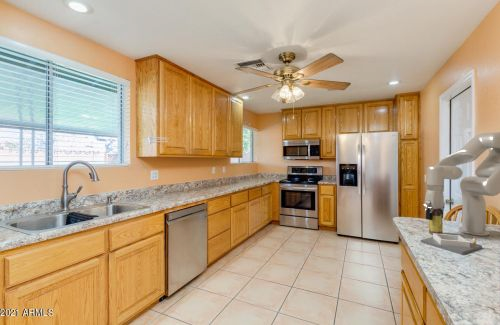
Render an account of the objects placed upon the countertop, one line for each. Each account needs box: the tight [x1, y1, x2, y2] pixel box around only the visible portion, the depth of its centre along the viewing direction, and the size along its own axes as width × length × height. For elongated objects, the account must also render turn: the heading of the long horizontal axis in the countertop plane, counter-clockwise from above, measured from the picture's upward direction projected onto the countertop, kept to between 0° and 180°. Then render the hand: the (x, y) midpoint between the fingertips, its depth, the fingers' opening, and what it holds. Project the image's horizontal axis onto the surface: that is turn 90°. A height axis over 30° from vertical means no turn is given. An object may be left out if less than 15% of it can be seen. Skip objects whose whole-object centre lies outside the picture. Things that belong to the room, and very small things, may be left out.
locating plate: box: [420, 233, 483, 255], centre depth 115 cm, size 17×17×4 cm
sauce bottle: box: [427, 208, 444, 235], centre depth 132 cm, size 7×6×20 cm
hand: (434, 218), depth 132 cm, fingers open, 9 cm apart
